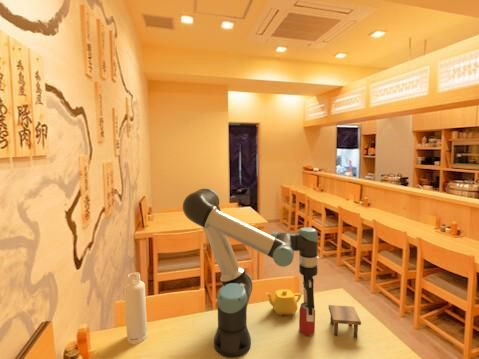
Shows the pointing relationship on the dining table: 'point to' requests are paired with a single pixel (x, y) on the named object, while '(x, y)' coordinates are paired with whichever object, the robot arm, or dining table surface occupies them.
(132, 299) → the bottle
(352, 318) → the stool
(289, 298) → the teapot
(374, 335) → the dining table surface
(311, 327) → the beer can
